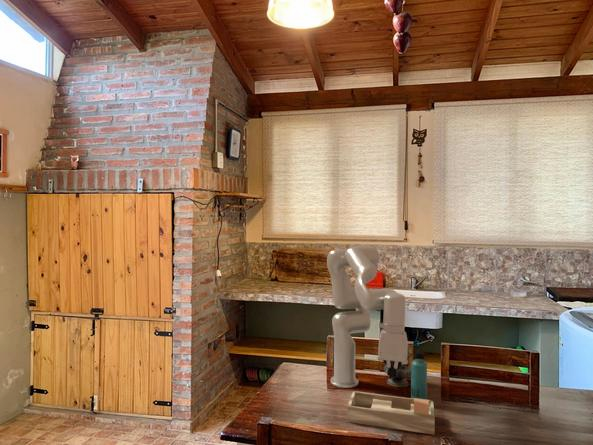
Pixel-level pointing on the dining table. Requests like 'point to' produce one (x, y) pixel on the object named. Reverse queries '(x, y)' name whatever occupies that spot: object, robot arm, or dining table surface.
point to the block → (421, 406)
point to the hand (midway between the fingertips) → (391, 377)
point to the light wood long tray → (389, 412)
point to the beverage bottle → (419, 376)
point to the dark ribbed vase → (400, 373)
